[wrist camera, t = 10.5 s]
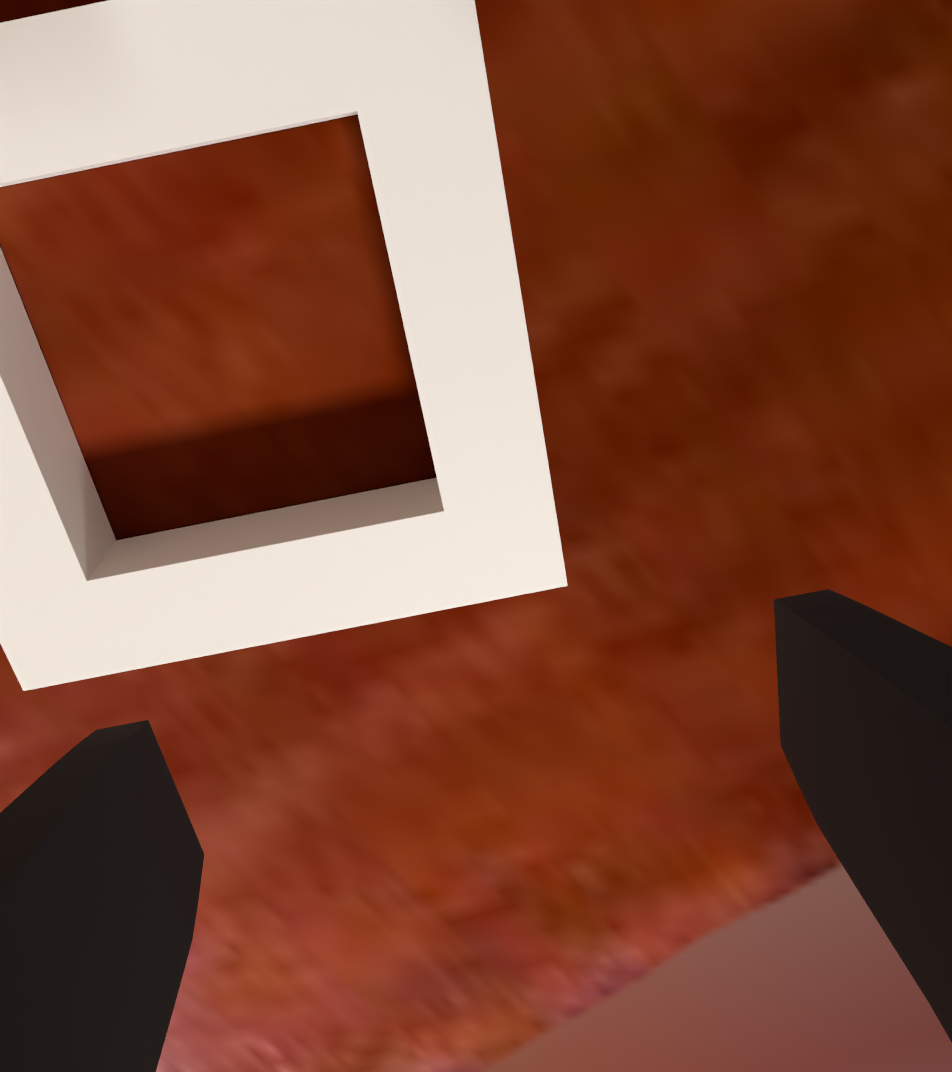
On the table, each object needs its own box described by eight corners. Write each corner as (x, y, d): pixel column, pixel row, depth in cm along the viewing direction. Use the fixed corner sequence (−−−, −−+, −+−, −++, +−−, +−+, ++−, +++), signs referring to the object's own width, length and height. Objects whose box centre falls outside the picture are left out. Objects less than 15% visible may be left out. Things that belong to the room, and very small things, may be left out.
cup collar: (456, -50, 16) (462, -74, 14) (553, 546, 21) (567, 585, 19) (-195, 85, 16) (-272, 79, 14) (57, 643, 21) (23, 690, 19)
